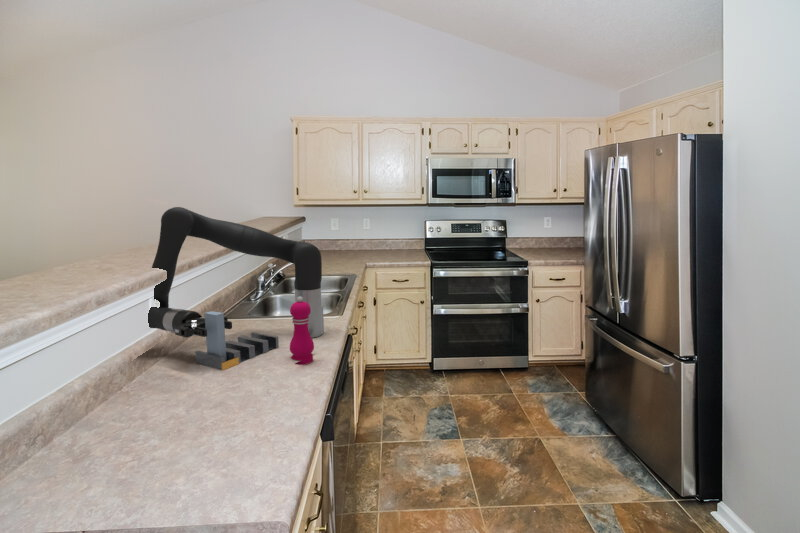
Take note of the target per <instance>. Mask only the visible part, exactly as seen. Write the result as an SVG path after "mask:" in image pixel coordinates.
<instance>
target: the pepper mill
mask: <svg viewBox="0 0 800 533" xmlns="http://www.w3.org/2000/svg"><path fill="white" fill-rule="evenodd" d="M297 301H298V302H295V301H294V302H293V303H292V304H291V306H290V309H289V313H290V315H291V316H292V318H291V320H292V324H293V327H294V328H293V334H292V338H291V340H290V342H289V352H290V353H291V354H292V355H291V359H292V360H295V361H297V362H295V363H294V365H297V366H298V365H299V366H300V365H308V364H310V363H311V364H312V362H313V361H314V355H313V354H312V353H313V352H314V350H315V343H314V341H313V338H311V336H310V334H309V331H308V323H309V317H308V315H309V314H310V312H311V308H310V305H309V304H308V303H306V302H303V298H302V297H298V298H297Z"/></svg>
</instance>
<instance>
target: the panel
mask: <svg viewBox="0 0 800 533" xmlns="http://www.w3.org/2000/svg"><path fill="white" fill-rule="evenodd" d="M204 317H205V329H207V336H206V337H205V341H206V352H207V353H211V354H216V355H220V356H224V357H225V361H227V358H226V343H225V342H226V334H225V332H226V330H225V328H224V317H225V314H224V313H223V312H220V311H213V310H211V311H207V312H204Z"/></svg>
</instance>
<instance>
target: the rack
mask: <svg viewBox="0 0 800 533" xmlns="http://www.w3.org/2000/svg"><path fill="white" fill-rule="evenodd" d="M225 343H226V358H227V361H225V357H224V356H220V355H216V354H211V353H207V351H204V350H203V351H202V350H196V351H195V362H196V363H195V364H198V365H201V366H206V367H208V368H209V367H210V368H213V369H217V370H220V371H225V370H227V369H229V368H233V367H234V366H237V365H240V363H241V364H242V363H244V362H245V361H248V360H250V359H253V358H256V357H258V356H260V355H264V354H266V353H269V352H271V351H274V350H276V349H278V348H280V344H279V336H277V335H271V334H267V333H265V334H264V333H261V332H255V331H253V332H251V333H250V336H246V335H241V336H238V337H237V341H235V340H229V339H228V340H225Z"/></svg>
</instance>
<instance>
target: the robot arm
mask: <svg viewBox="0 0 800 533" xmlns="http://www.w3.org/2000/svg"><path fill="white" fill-rule="evenodd" d="M159 233H160V234H159V241H158V246H157V250H156V254H155V257H154V260H153V263H152V265H151V268H159V269H163V270H166V271H167V279H166V280H165V281H163V282H161V283H160V284H158V285H156V286H155V288H154V299H153V300H155V299H156V300H158V301H159V302H160V307H159V308H157V307H151V308H150V310H149V313H148V323H149V327H150V328H149V329H158V330H161V331H165V332H170V333H172V334H174V335H176V336H179V337H183V338H190V337H196V336H197V337H198V336H199V337H202V338H206V336H207V329H205V316H202V315H201V314H200V313H199V312H197V311H194V310H188V309H185V308H184V309H183V308H173V307H172V308H171V307H169V306H170V305H169V303H170V297H169V296H170V292H171V289H172V285H173V282H174V278H175V275H176V269H177V264H178V259H179V255H180V253H181V250H182V247H183V244H184V242H185V241H186V238H187V237H192V238H198V239H202V240H205V241H206V240H207V241H209V242H211V243H214V244H216V245H219V246H220V247H223V248H225V249H228V250H231V251H234V252H238V253H242V254H246V255H249V256H255V257H261V258H264V257H265V258H275V259H278V260H282V261H285V262H288V263H291V264H294V285H293V286H294V303H295V302H298V301H297V298H298V297H302V298H303V302H306V303H308V304H309V305H310V308H311V312H310V314H309V315H308V317H309V323H308V331H309V334H310V336H311V338H312V339H313V338H318V337H321V336H322V335H323V333H325V326H324V324H325V323H324V307H323V306H322V287H321V286H322V285H321V284H322V278H323V277H322V276H323V271H322V270H323V269H322V268H323V267H322V265H323V263H322V254H321V251H320V249H319V248H318V247H317V246H316V245H315V244H312V243H311V242H310V243H309V242H305V241H297V240H292V239H286V238H283V237H279V236H277V235H275V234H273V233H270V232H268V231H264V230H262V229H259V228H256V227H252V226H249V225H245V224H240V223H237V222H232V221H227V220H221V219H215V218H211V217H208V216H205V215H202V214H199V213H197V212H194V211H191V210H190V209H188V208H185V207H182V206H174V207H171V208H168V209H167V210H165V212H163V214H162V215H161V218H160V232H159ZM224 328H225V329H226V330H231V329H233V322H232V321H231V320H228V317H227V316H224Z"/></svg>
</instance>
